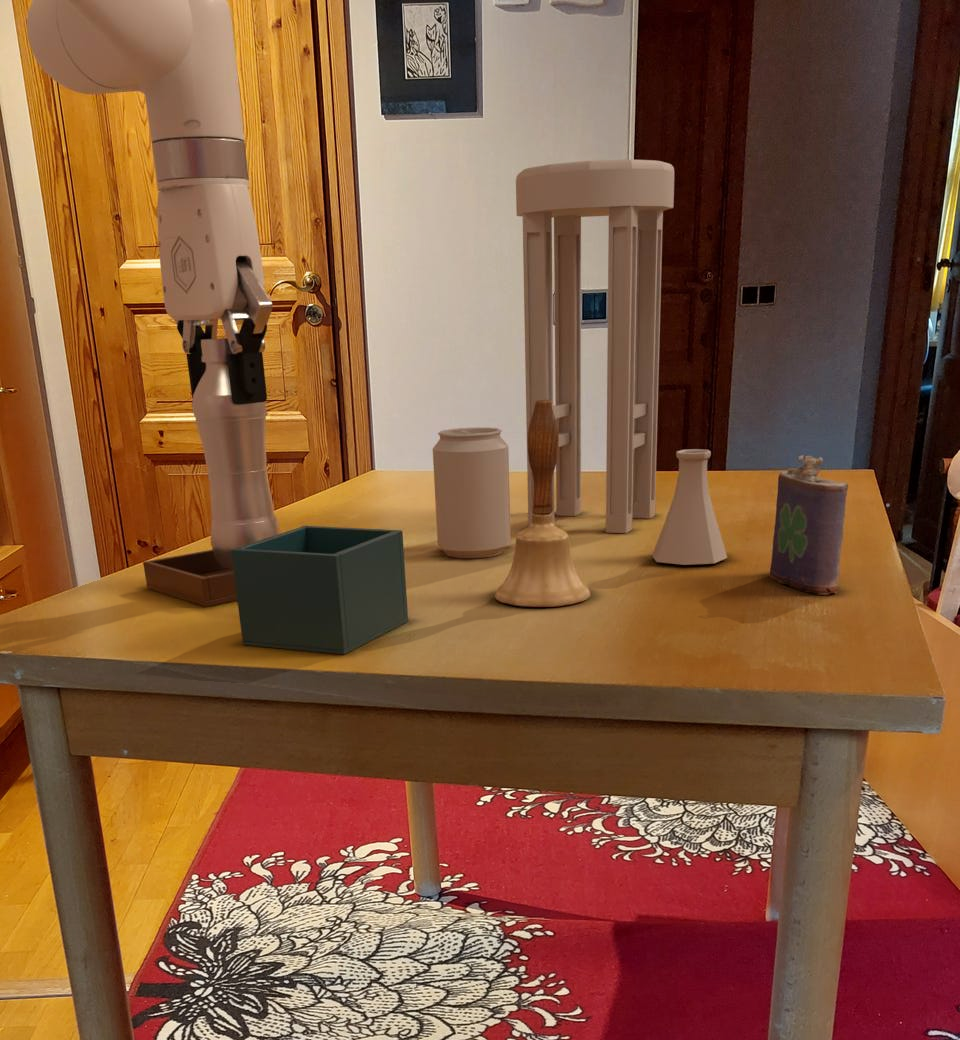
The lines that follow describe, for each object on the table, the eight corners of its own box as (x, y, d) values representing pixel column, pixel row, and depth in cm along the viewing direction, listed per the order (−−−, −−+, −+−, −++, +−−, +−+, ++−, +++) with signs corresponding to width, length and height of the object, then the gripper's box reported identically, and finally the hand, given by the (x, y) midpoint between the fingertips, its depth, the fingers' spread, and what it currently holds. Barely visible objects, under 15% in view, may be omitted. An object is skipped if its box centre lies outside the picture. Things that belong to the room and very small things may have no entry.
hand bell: (561, 581, 106) (560, 394, 100) (608, 599, 100) (610, 399, 93) (479, 593, 103) (471, 401, 96) (521, 613, 97) (517, 407, 90)
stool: (504, 532, 130) (494, 167, 115) (552, 508, 142) (549, 178, 127) (639, 537, 124) (647, 154, 109) (676, 512, 137) (688, 167, 121)
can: (512, 558, 117) (509, 431, 111) (437, 561, 117) (430, 434, 111) (509, 543, 123) (506, 423, 118) (438, 546, 123) (432, 426, 118)
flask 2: (844, 593, 98) (856, 460, 94) (812, 597, 98) (823, 463, 93) (789, 572, 106) (798, 448, 102) (760, 575, 106) (767, 451, 101)
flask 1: (731, 553, 115) (737, 446, 111) (722, 568, 109) (728, 456, 104) (658, 551, 117) (661, 446, 113) (645, 566, 111) (647, 456, 107)
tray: (205, 607, 103) (201, 578, 102) (146, 588, 110) (142, 561, 109) (355, 575, 112) (353, 549, 111) (291, 560, 120) (289, 535, 119)
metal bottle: (299, 565, 111) (275, 336, 103) (244, 579, 106) (214, 340, 98) (255, 559, 115) (228, 337, 106) (199, 572, 110) (167, 341, 102)
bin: (344, 654, 87) (335, 555, 84) (242, 644, 91) (230, 549, 88) (408, 621, 96) (402, 530, 92) (312, 613, 99) (304, 525, 96)
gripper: (113, 178, 100) (146, 401, 108) (213, 156, 88) (243, 409, 96) (191, 180, 105) (217, 395, 112) (297, 160, 93) (319, 401, 100)
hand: (229, 399), depth 104 cm, fingers closed on metal bottle, 6 cm apart
